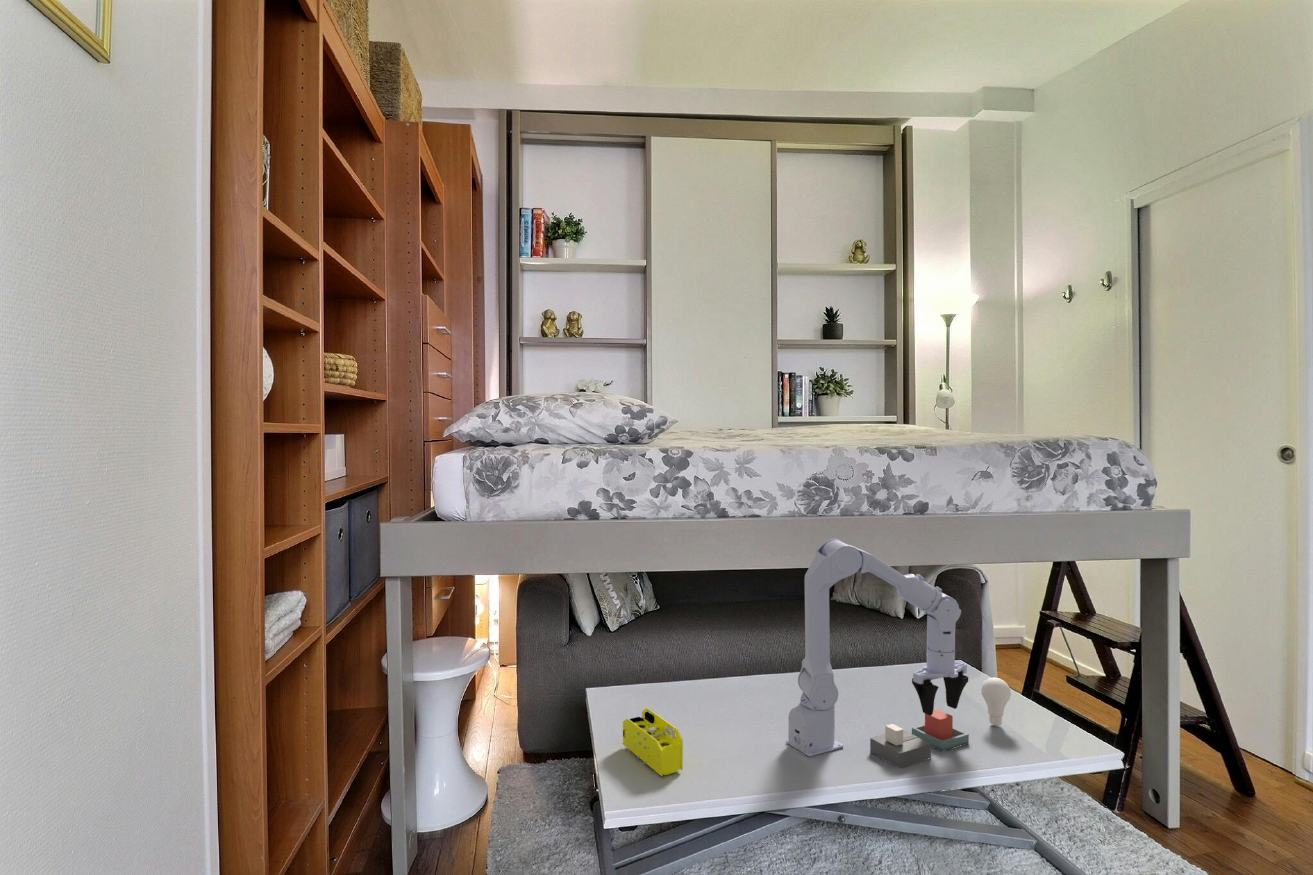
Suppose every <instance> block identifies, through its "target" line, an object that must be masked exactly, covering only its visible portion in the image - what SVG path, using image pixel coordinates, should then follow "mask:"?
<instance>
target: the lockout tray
mask: <svg viewBox="0 0 1313 875" xmlns="http://www.w3.org/2000/svg"><path fill="white" fill-rule="evenodd" d="M911 734H912V735H915V736H917V737H918V738H920V739H922V740H924V741H926V742H928V743H930V744H931V748H934V747H935V748H934V749H935V750H938V751H940V752H942V751H943V752H946V751H949V750H952V748H953V749H955V748H954V747H956V748H958V746H959V747H961V746H960V745H962V746H964V744H965V745H968V743H969V742H970V741H969V740H970V738H969V736H970V734H969V733H967V732H965V731H963V730H961V729H958V728H957V727H953V733H952V738H949V739H946V740H940V739H937V738H935V737H933V736H931V735H929V734H927V733H925V723H924V724H920V725H917V726H913V727H911ZM948 749H949V750H948ZM945 750H946V751H945Z"/></svg>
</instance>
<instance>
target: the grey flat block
mask: <svg viewBox="0 0 1313 875" xmlns="http://www.w3.org/2000/svg"><path fill="white" fill-rule="evenodd" d="M869 739H870V744H869V745H870V746H869V749H870V750H869V751H870V753H871V754H873V755H875V756H877V757H878V758H880V759H882V760H884V761H886V762H888V763H890V764H891V765H893V766H895V767H896V768H898V769H901V768H905V767H908V766H910V765H913V764H917V763H920V761H921V762H924V761H927V760H929V759H928V758H930V759H931V758H932V746H931V744H930V743H928V742H926V741H924V740H922V739H920V738H918V737H917V736H915V735H912V733H910V732H908V731H906V730H904V729H903V744H900V745H897V746H896V745H894V744H892V743H890V742H888V741H886V740H885V733H883V734H880V735H875V736H872V737H870V738H869ZM926 759H927V760H926ZM923 760H924V761H923Z"/></svg>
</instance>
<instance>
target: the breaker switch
mask: <svg viewBox="0 0 1313 875" xmlns="http://www.w3.org/2000/svg"><path fill="white" fill-rule="evenodd" d="M884 730H885V731H884V732H885V733H884V734H885V740H886V741H888V742H890V743H892V744H894V745H896V746H897V745H900V744H903V730H904V729H903V728H902V727H900V726H897V725H896V724H894V723H891V724H886V725H885V728H884Z"/></svg>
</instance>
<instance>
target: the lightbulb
mask: <svg viewBox="0 0 1313 875" xmlns="http://www.w3.org/2000/svg"><path fill="white" fill-rule="evenodd" d="M980 687H981V688H980V689H981V690H980V692H981V695H982V697H983V700H984V702H985V703H986V706H987V713H988V715H989V716H988V718H989V723H990V724H991V725H992V726H994V727H999V726H1002V723H1003V722H1002V721H1003V716H1004V711H1005V707H1006V705H1007V704H1008V702H1009V701H1010V700H1011V695H1012V692H1011V688H1010V686H1009V685H1008V683H1007V682H1006V681H1005V680H1003V679H1001V678H1000V677H999V678H998V677H994V676H993V677H988V678H987V679H985V680H984V681H983V683H982V685H981V686H980Z"/></svg>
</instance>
